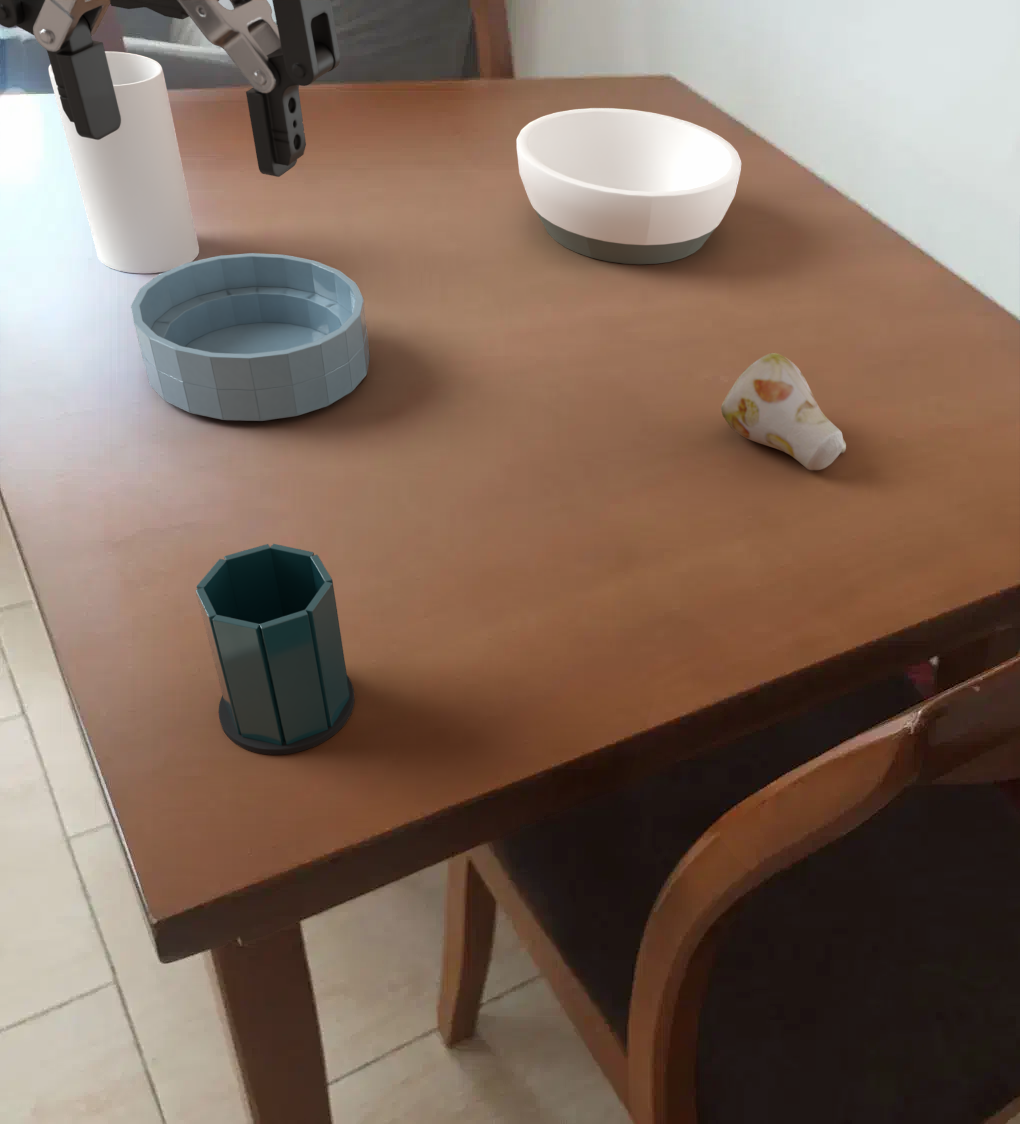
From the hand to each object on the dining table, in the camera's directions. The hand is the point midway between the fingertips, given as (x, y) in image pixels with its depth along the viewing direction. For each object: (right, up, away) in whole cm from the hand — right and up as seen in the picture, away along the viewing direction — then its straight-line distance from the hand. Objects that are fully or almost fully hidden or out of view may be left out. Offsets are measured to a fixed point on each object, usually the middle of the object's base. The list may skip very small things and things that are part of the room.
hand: (190, 151), depth 51 cm
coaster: (-1, -27, +14) cm, 30 cm away
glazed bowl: (-14, -3, +39) cm, 41 cm away
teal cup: (-1, -26, +13) cm, 30 cm away
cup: (-29, +9, +50) cm, 59 cm away
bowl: (+12, +17, +67) cm, 70 cm away
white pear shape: (+28, -9, +40) cm, 50 cm away
